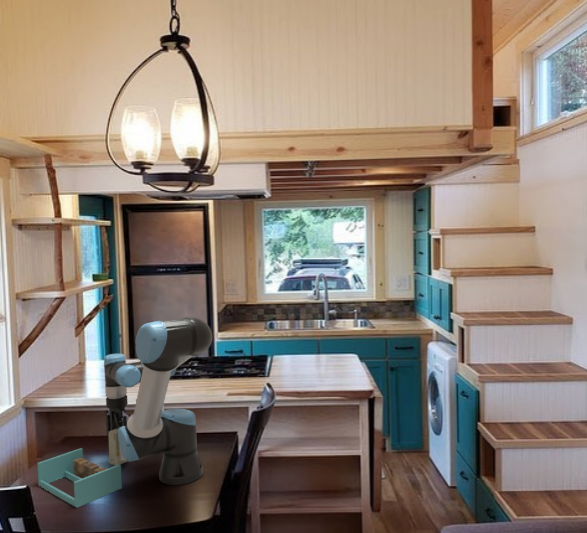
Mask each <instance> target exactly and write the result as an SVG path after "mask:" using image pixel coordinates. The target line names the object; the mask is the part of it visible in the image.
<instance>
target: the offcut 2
mask: <svg viewBox="0 0 587 533" xmlns="http://www.w3.org/2000/svg"><path fill="white" fill-rule="evenodd" d="M106 469H107V468H105V467H103V466H100V467H99V468H98V469H96V470H94V474H96V473H98V472H101V471H103V470H106Z"/></svg>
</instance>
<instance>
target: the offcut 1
mask: <svg viewBox="0 0 587 533" xmlns="http://www.w3.org/2000/svg"><path fill="white" fill-rule="evenodd" d="M88 463H90V462H89V460H87V459H86V458H84V457H83V458H79V459H76V460H73V465H74V475H76V476H78V477H80V478H82V479H83V478H84V468H83V465H85V464H88Z"/></svg>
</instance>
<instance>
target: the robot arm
mask: <svg viewBox="0 0 587 533" xmlns="http://www.w3.org/2000/svg"><path fill="white" fill-rule="evenodd" d="M212 342H213V332H212V330H211V328H210V326H209V324H208V323H206V322H205V321H204V320H202V319H200V318H197V317H193V316H192V317H191V316H190V317H189V316H188V317H181V318H175V319H168V320H155V321H152V322H146V323H144V324H143V325H141V326H140V328H139V329H138V331H137V334H136V337H135V352H136V356H137V359H138V361H135V362H128V363H127V360H126V355H125V354H123V353H110V354H107V355H105V357H104V358H103V359H104V360H103V367H104V368H103V369H104V385H105V387H104V388H105V389H104V390H105V397H106V398H105V406H106V408H107V409H105V410H104V415H105V424H106V425H105V426H106V427H105V428H106V437H109V431H112V430H114V429H117V428H118V441H119V450H120V460H121V461H122V460H124V459H126V460H127V461H126V462H134V461H140V460H143V459H145V458H146V459H147V458H149V457H152V456H156V455H159V454H162V453H163V456H162V460H161V465H160V469H159V472H158V475H159V476H158V477H159V481H160V482H161V483H162V484H165V485H169V486H170V485H171V486H179V485H180V486H181V485H185V484H190V483H193V482H195V481H197V480H199V479H201V478H202V476H203V474H204V472H203V471H204V470H203V469H204V467H203V464H202V461H201V459H200V456H199V453H198V448H197V447H198V446H197V444H198V442H197V440H198V439H197V423H196V422H197V421H196V415H195V413H194V412H193V411H192V410H189V409H184V408H169V409H168V408H167V409H164V411H163V412H162V409H163V404H164V405H165V400H166V396H167V391H168V387H169V383H170V380H171V377H173V376H174V375H175V374H176V371H177V368H178V367H180V366H181V365H182V364H184V363H185V362H187V361H188V360H189V359H191V358H192V357H198V356H200V355H202V354H203V353H205V351H207V350H208V349H209V348H210V347H211V344H212ZM138 384H139V388H138V391H137V397H136V399H137V401H136V400H135V407H134V409H133V411H134V412H133V413H132V414H130V413H129V414H127V412H126V409H125V408H126V406H128V395H127V394H128V389H127V388H133V387H134V388H135V387H136V385H138ZM161 413H162V414H161ZM161 416H162V417H161Z"/></svg>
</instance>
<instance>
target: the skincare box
mask: <svg viewBox="0 0 587 533" xmlns="http://www.w3.org/2000/svg"><path fill="white" fill-rule="evenodd" d="M108 454H109V455H108V457H109V458H108V459H109V460H108V462H109V464H110V465H113V466H116V465H119V464H120V465H122V464H124V463H126V462H128V461H127V460H126V459H124V460H122V461H121V460H120V450H119V441H118V428H117V429H114V430H112V431H109V436H108Z"/></svg>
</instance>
